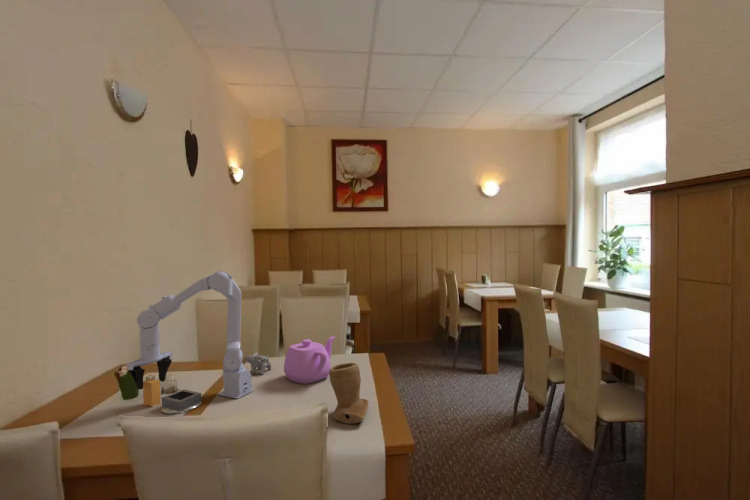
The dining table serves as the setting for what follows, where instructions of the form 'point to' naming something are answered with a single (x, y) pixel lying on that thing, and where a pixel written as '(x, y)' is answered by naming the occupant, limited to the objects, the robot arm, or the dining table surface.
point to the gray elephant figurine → (258, 362)
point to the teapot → (308, 361)
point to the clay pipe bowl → (348, 393)
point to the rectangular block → (151, 392)
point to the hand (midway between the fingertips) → (151, 384)
